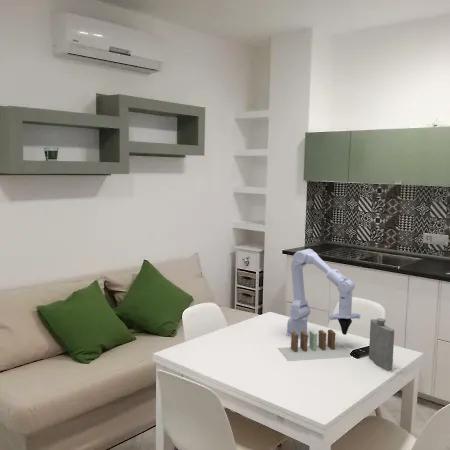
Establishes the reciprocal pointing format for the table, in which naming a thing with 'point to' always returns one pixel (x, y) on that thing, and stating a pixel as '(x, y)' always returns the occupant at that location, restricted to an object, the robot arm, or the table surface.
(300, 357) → the grey mat
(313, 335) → the sage domino
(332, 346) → the domino
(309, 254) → the robot arm
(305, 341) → the domino
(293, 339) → the domino
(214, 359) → the table surface
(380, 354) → the hip flask
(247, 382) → the table surface
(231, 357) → the table surface
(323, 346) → the domino
